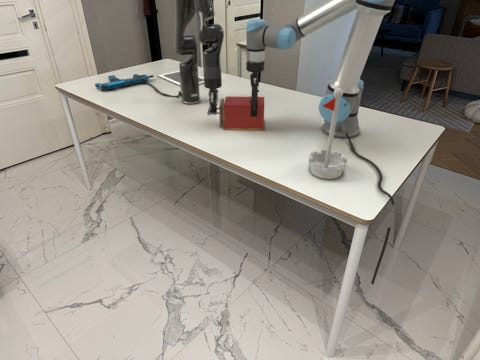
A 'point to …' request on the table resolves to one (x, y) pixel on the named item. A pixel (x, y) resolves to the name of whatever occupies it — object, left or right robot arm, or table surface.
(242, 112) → the cabinet
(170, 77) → the tablet
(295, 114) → the table surface
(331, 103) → the flag stand
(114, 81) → the submachine gun
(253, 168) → the table surface
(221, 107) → the drawer
